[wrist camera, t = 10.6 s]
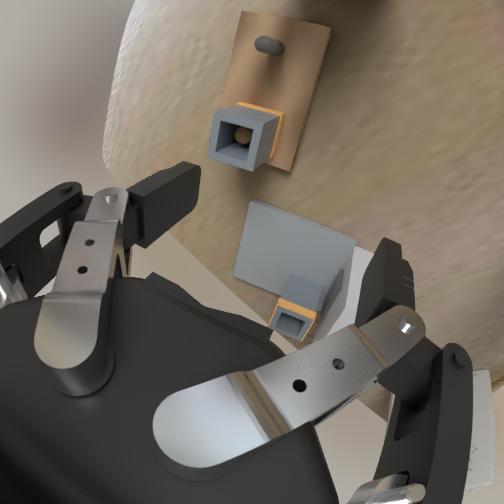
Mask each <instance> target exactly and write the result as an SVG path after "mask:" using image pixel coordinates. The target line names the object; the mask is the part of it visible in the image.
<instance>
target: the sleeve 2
mask: <svg viewBox="0 0 504 504" xmlns="http://www.w3.org/2000/svg"><path fill="white" fill-rule="evenodd" d="M322 287H323V286H322V285H319V284H317V283H314V282H312V281H309V280H307V279H304V278H302V277H299V276H297V275H295V274H292V273H291V276H290V278H289V280H288V283H287V285H286V287H285V290H284V292H283V295H282V297H281V298H279V300H278V302H277V305H276V307H275V309H274V312H273V314H272V317H271V319H270V321H269V324H268V326H267V328H270V329H272V330H274V331H276V332H279V333H281V334H284V335H286V336H289V337H291V338H294V339H296V340H299V341H301V342H302V341H303V339H304V337H305V336H306V334H307V333H308V331H309V329H310V328H311V326H312V324H313V323H314V321H315V319H316V316H317V313H316V309H317V306H318V302H319V298H320V295H321V291H322Z"/></svg>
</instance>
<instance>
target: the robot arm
mask: <svg viewBox="0 0 504 504" xmlns="http://www.w3.org/2000/svg"><path fill="white" fill-rule="evenodd" d="M200 176H201V168H200V166H198V165H195V164H192V163H189V162H185V161H183V162H181V163H179V164H177V165H175V166H173V167H171V168H169V169H165V170H161V171H158V172H156V173H155V174H153V175H152V176H149V177H147V178H145V180H142V181H140V182H138V183H136V184H135V185H133V186H131V187H129V188H128V189H126V190H124V189H122V188H115V187H112V188H106V189H103V190H100V191H99V192H97V193H96V194H95V195H94V196H87V195H83V193H82V186H81V184H80V183H78V182H66V183H62V184H60V185H58V186H56V187H54V188H53V189H51V190H49V191H48V192H46V193H44V194H43V195H42V196H40V197H38V198H37V199H35V200H34V201H32V202H31V203H29V204H28V205H26V206H25V207H23V208H22V209H20V210H19V211H17V212H16V213H14V214H13V215H12V216H10V217H9V218H7V219H6V220H5V221H3V222H2V223H1V224H0V504H339V500H338V495H337V492H336V489H335V487H334V483H333V481H332V477H331V474H330V472H329V469H328V466H327V462H326V460H325V457H324V454H323V451H322V448H321V445H320V442H319V439H318V436H317V433H316V430H315V426H317V425H319V424H320V423H322V422H323V421H325V420H327V419H328V418H329V417H331V416H332V415H334V414H335V413H336V412H338V411H339V410H341V409H342V408H343V407H345V406H346V405H348V404H349V403H351V402H352V401H353V400H355V399H356V398H358V397H359V396H360V395H362V394H363V393H364V392H366V391H367V390H368V389H370V388H371V387H372V386H374V385H375V384H376V383H377V382H378V383H379V384H381V385H382V386H383V387H385V388H386V389H388V390H389V391H390V392H392V393H393V394H394V395H395V398H394V403H393V408H392V412H391V417H390V421H389V426H388V430H387V434H386V438H385V441H384V445H383V449H382V452H381V456H380V459H379V463H378V466H377V469H376V472H375V475H374V478H373V481H370V482H367V483H365V484H363V485H361V486H360V487H359V488H358V489H357V490H356V491H355V492H354V494H353V496H352V498H351V499H350V501H349V502H348V503H347V504H461V503H462V499H463V494H464V489H465V484H466V478H467V472H468V466H469V458H470V449H471V439H472V425H473V367H472V362H471V359H470V357H469V355H468V353H467V352H466V351H465V349H464V348H462V347H461V346H460V345H458V344H456V343H448V344H447V345H446V346H445V347H444V348H443V349H440V348H439V347H438V346H436V345H435V344H434V343H433V342H431V341H430V340H429V339H428V338H426V337H425V332H426V328H425V324H424V322H423V320H422V318H421V317H420V316H419V314H418V313H417V312H415V295H414V289H413V288H414V282H413V271H412V269H411V267H410V265H409V263H408V261H406V260H404V259H402V251H401V244H399V243H396V242H394V241H392V240H390V239H388V238H385V237H384V238H383V239H382V240H381V242H380V244H379V246H378V248H377V250H376V251H375V253H374V255H373V257H372V259H371V261H370V262H369V264H368V266H367V268H366V270H365V273H364V275H363V278H362V283H361V289H360V295H359V301H358V307H357V312H356V317H355V322H354V324H350V325H348V326H346V327H344V328H342V329H340V330H338V331H336V332H334V333H332V334H330V335H328V336H326V337H324V338H322V339H320V340H318V341H316V342H314V343H312V344H310V345H308V346H306V347H304V348H302V349H300V350H298V351H295V352H293V353H291V354H289V355H287V356H286V355H285V354H284V353H283V351H282V350H281V349H280V348H279V347H278V346H276V345H275V344H274V343H273V342H272V341H270V340H269V339H270V337H271V335H272V332H273V330H272V329H270V328H267V327H265V326H263V325H261V324H259V323H256V322H254V321H252V320H250V319H247V318H245V317H243V316H241V315H237V314H232V313H228V312H224V311H220V310H216V309H212V308H208V307H205V306H203V305H202V304H200V303H199V302H198V301H197V300H196V299H194V298H193V297H192V296H191V295H190V294H188V293H187V292H186V291H185V290H184V289H182V288H181V287H180V286H179V285H177V284H175V283H173V282H171V281H169V280H167V279H165V278H163V277H161V276H160V275H158V274H156V273H154V272H152V273H151V274H150V275H149V276H148V277H147V278H146V279H142V278H136V277H130V272H131V261H132V246H133V245H134V244H137V245H139V246H141V247H143V248H145V249H146V248H147V247H148V246H149V245H151V244H152V243H153V242H154V241H155V240H156V239H158V238H159V237H160V236H161V235H163V234H164V233H165V232H166V231H168V230H169V229H170V228H171V227H172V226H174V225H175V224H176V223H177V222H179V221H180V220H181V219H182V218H184V217H185V216H186V215H187V214H189V213H190V212H191V211H192V210H193V209H194V208H195V206H196V204H197V201H198V195H199V185H200ZM56 220H57V224H58V228H59V233H60V234H59V235H58V236H56V237H55V238H54V239H53V240H51V241H50V242H49V243H48V244H46V245H45V246H44V247H43V248H42V247H41V244H40V234H41V232H42V231H43V230H44V229H45V228H46V227H48V226H49V225H50V224H52V223H53V222H54V221H56ZM55 276H56V278H55V282H54V285H53V289H52V291H51V292H50V293H47V294H46V295H42V296H38V297H34V296H35V295H36V294H37V293H38V292H39V291H40V290H41V289H42V288H43V287H44V286H45V285H47V284H48V283H49V282H50V281H51V280H52V279H53V278H54V277H55ZM33 297H34V298H33Z"/></svg>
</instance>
